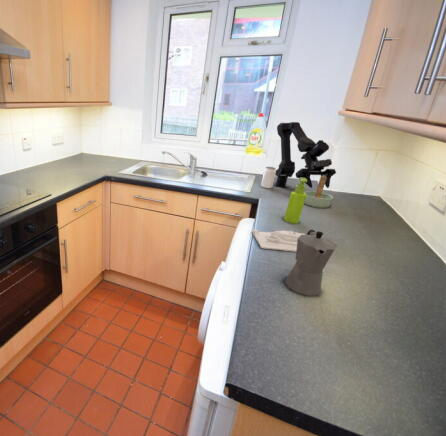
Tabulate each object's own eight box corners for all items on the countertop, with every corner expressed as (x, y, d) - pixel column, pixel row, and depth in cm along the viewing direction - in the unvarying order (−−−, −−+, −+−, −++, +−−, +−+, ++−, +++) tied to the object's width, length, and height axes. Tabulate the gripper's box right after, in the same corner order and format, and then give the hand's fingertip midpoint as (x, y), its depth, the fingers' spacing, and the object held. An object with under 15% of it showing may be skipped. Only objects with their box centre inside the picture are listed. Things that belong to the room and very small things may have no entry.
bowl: (300, 198, 165) (302, 189, 163) (328, 202, 160) (330, 193, 158) (302, 205, 154) (304, 196, 152) (332, 210, 148) (335, 200, 147)
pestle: (310, 200, 159) (317, 174, 154) (320, 201, 157) (328, 176, 152) (311, 203, 155) (319, 177, 150) (321, 204, 153) (330, 178, 148)
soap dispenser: (285, 223, 131) (297, 179, 124) (283, 217, 137) (294, 175, 130) (300, 225, 130) (313, 181, 122) (297, 219, 136) (309, 177, 128)
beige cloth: (246, 234, 122) (248, 223, 120) (303, 234, 121) (306, 223, 119) (264, 254, 106) (266, 242, 104) (329, 254, 106) (332, 242, 104)
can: (269, 185, 186) (274, 166, 181) (273, 188, 180) (278, 169, 175) (259, 185, 186) (263, 166, 181) (262, 188, 180) (267, 168, 175)
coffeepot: (325, 304, 80) (347, 245, 73) (287, 295, 83) (304, 238, 76) (314, 274, 94) (332, 223, 86) (281, 268, 97) (296, 217, 90)
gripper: (305, 152, 151) (313, 179, 145) (339, 153, 152) (349, 180, 147) (291, 164, 161) (299, 190, 156) (324, 165, 163) (332, 190, 157)
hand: (319, 187), depth 153 cm, fingers open, 9 cm apart
